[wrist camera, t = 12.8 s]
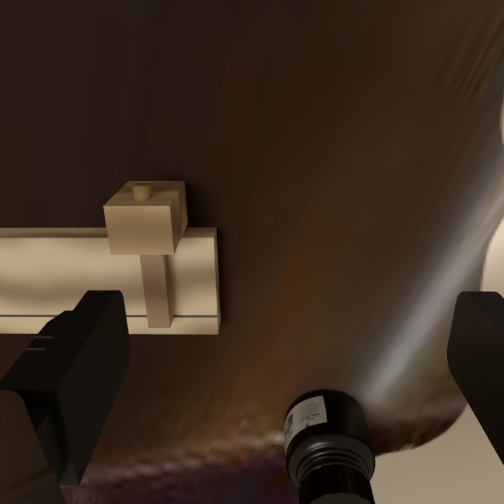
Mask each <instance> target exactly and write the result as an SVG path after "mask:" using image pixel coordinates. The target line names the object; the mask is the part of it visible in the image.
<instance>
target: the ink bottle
mask: <svg viewBox="0 0 504 504" xmlns="http://www.w3.org/2000/svg"><path fill="white" fill-rule="evenodd" d="M284 435H285V454H286V468H287V473H288V476H289V478H290V480H291V482H292V483H293V484H294V485H295V486H296V487H297V488H298V489H299V490H298V493H299V504H375V501H374V497H373V493H372V489H371V484H370V480H371V478H372V476H373V473H374V470H375V455H374V451H373V447H372V444H371V440H370V436H369V433H368V429H367V425H366V421H365V418H364V414H363V412H362V409H361V408H360V406H359V405H358V404H357V403H356V402H355V401H354V400H353V399H351V398H350V397H348V396H346V395H343V394H340V393H337V392H331V391H317V392H311V393H308V394H306V395H303V396H302V397H300V398H299V399H297V400H296V401H295V402H294V403H293V404H292V405H291V406H290V408H289V409H288V411H287V413H286V416H285V420H284Z"/></svg>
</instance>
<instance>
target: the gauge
mask: <svg viewBox="0 0 504 504" xmlns="http://www.w3.org/2000/svg"><path fill="white" fill-rule="evenodd" d="M104 213H105V220H106V226H107V233H108V240H109V247H110V253H111V255H140V263H141V271H142V279H143V287H144V296H145V304H146V312H147V321H148V328H170V327H171V324H172V321H173V309H172V298H171V288H170V277H169V266H168V256H167V255H174V254H175V251H176V249H177V247H178V244H179V242H180V240H181V238H182V235H183V233H184V231H185V228H186V226H187V224H188V221H187V207H186V194H185V181H128V182H127V183H126V184H125V185H124V186H123V187H122V188H121V189H120V190H119V191H118V192H117V193H116V194H115V195H114V196H113V197H112V198H111V199H110V200H109V201H108V202H107V203H106V204H105V205H104Z"/></svg>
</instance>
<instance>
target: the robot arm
mask: <svg viewBox="0 0 504 504" xmlns="http://www.w3.org/2000/svg"><path fill="white" fill-rule="evenodd" d="M130 356H131V345H130V338H129V331H128V324H127V317H126V310H125V303H124V297H123V294H122V292H121V291H120V290H88V291H87V292H86V293H85V294H84V296H83V297H82V298H81V300H80V301H79V302H78V304H77V305H76V307H75V308H74V309H73V310H65V311H63V312H62V313H60V314H59V315H57V316H56V317H54V318H53V319H51V320H50V321H48V322H47V323H46V324H45V325H44V327H43V328H42V329H41V330H40V332H39V333H38V334H37V335H36V339H33V340H32V342H31V343H30V344H29V345H28V347H27V350H26V351H24V352H23V353H22V354H21V356H20V357H19V358H18V359H17V361H16V362H15V363H14V364H13V366H12V367H11V368H10V369H9V371H8V372H7V373H6V374H5V376H4V377H3V378H2V380H1V381H0V504H67V503H66V500H65V498H64V495H63V493H62V490H61V487H60V485H79V484H80V482H81V480H82V477H83V475H84V473H85V470H86V468H87V466H88V463H89V461H90V458H91V456H92V454H93V451H94V449H95V447H96V444H97V442H98V440H99V437H100V435H101V432H102V430H103V428H104V425H105V423H106V421H107V418H108V416H109V414H110V411H111V409H112V407H113V404H114V402H115V399H116V397H117V395H118V392H119V390H120V388H121V385H122V383H123V381H124V378H125V376H126V373H127V371H128V368H129V364H130ZM447 359H448V365H449V369H450V372H451V374H452V376H453V377H454V379H455V381H456V383H457V384H458V386H459V388H460V390H461V391H462V393H463V395H464V397H465V398H466V400H467V402H468V404H469V405H470V407H471V409H472V411H473V412H474V414H475V416H476V418H477V419H478V421H479V423H480V425H481V426H482V428H483V430H484V431H485V433H486V435H487V436H488V439H489V440H490V442H491V444H492V446H493V447H494V449H495V451H496V453H497V454H498V456H499V458H500V460H501V461H502V463H503V465H504V298H503V297H502V296H501V295H500V294H499V293H497V292H466V291H463V292H461V293H460V294H459V295H458V298H457V301H456V305H455V310H454V316H453V321H452V326H451V331H450V336H449V342H448V347H447Z"/></svg>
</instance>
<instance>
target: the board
mask: <svg viewBox="0 0 504 504" xmlns="http://www.w3.org/2000/svg"><path fill="white" fill-rule="evenodd" d="M167 256H168V266H169V277H170V288H171V298H172V309H173V321H172V324H171V327H170V328H148V321H147V312H146V304H145V296H144V287H143V279H142V271H141V263H140V255H111V253H110V247H109V240H108V233H107V228H0V333H39V332H40V330H41V329H42V328H43V327H44V325H45V324H46V323H47V322H48V321H50V320H51V319H53V318H54V317H56V316H57V315H59V314H60V313H62V312H63V311H65V310H73V309H74V308H75V307H76V305H77V304H78V302H79V301H80V300H81V298H82V297H83V296H84V294H85V293H86V292H87V291H88V290H120V291H121V292H122V294H123V297H124V303H125V310H126V317H127V324H128V331H129V334H218V333H219V327H220V321H221V318H220V296H219V275H218V253H217V231H216V227H207V228H185V231H184V233H183V235H182V238H181V240H180V242H179V244H178V247H177V249H176V251H175V254H174V255H167Z"/></svg>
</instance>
